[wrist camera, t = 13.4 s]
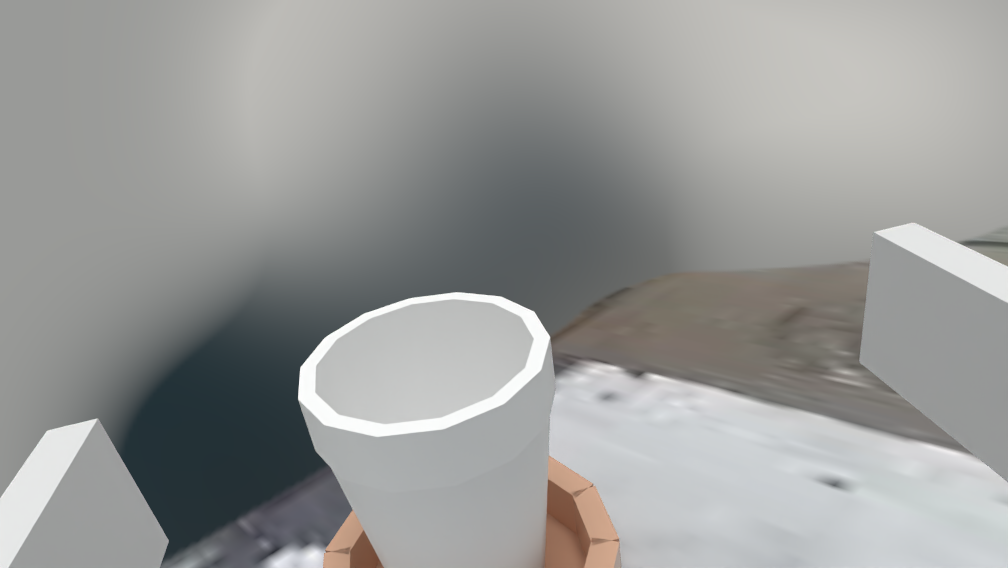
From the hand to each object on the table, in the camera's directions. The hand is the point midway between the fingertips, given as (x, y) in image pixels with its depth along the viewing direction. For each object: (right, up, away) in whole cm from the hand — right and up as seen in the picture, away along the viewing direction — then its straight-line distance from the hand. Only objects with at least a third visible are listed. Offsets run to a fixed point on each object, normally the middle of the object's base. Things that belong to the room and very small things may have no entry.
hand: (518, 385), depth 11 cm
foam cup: (-1, -13, +19) cm, 23 cm away
